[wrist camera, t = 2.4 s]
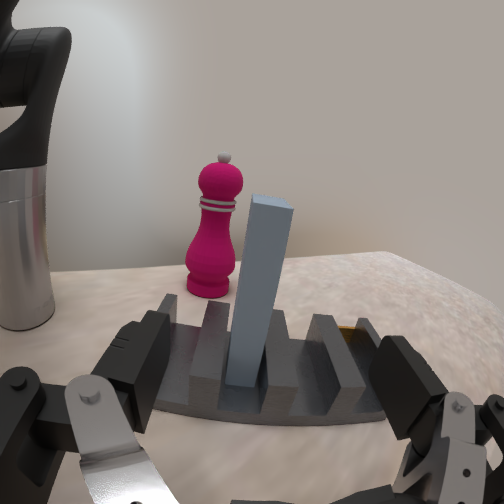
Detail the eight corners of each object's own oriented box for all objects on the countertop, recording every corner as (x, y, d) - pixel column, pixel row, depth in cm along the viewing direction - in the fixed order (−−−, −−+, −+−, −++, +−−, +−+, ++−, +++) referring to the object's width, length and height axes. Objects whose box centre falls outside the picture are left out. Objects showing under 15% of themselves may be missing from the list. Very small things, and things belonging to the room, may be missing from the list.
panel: (224, 384, 21) (253, 202, 16) (228, 348, 26) (252, 193, 21) (254, 387, 21) (293, 209, 17) (253, 352, 26) (283, 198, 21)
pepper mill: (225, 278, 45) (243, 154, 39) (236, 300, 39) (260, 155, 33) (181, 277, 43) (195, 148, 37) (186, 300, 36) (202, 147, 30)
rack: (136, 404, 18) (129, 361, 17) (167, 330, 29) (168, 291, 28) (384, 420, 20) (409, 383, 18) (352, 350, 30) (366, 316, 29)
